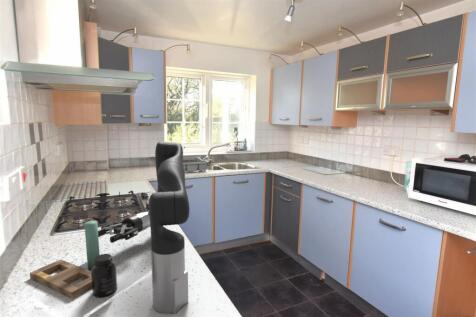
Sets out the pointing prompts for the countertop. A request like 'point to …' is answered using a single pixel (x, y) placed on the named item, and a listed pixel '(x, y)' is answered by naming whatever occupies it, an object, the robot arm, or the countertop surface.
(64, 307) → the countertop surface
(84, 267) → the tab
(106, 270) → the supplement bottle
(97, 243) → the peg
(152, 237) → the robot arm
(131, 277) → the countertop surface
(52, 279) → the hole board
